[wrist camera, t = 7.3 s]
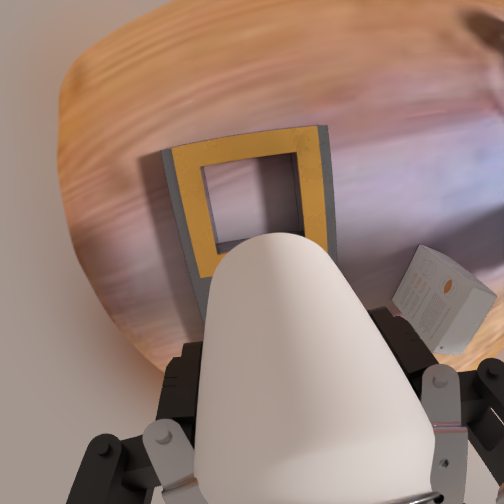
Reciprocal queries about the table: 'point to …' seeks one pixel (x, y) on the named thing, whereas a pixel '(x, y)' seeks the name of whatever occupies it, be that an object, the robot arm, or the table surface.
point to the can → (302, 388)
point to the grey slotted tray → (236, 148)
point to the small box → (442, 301)
